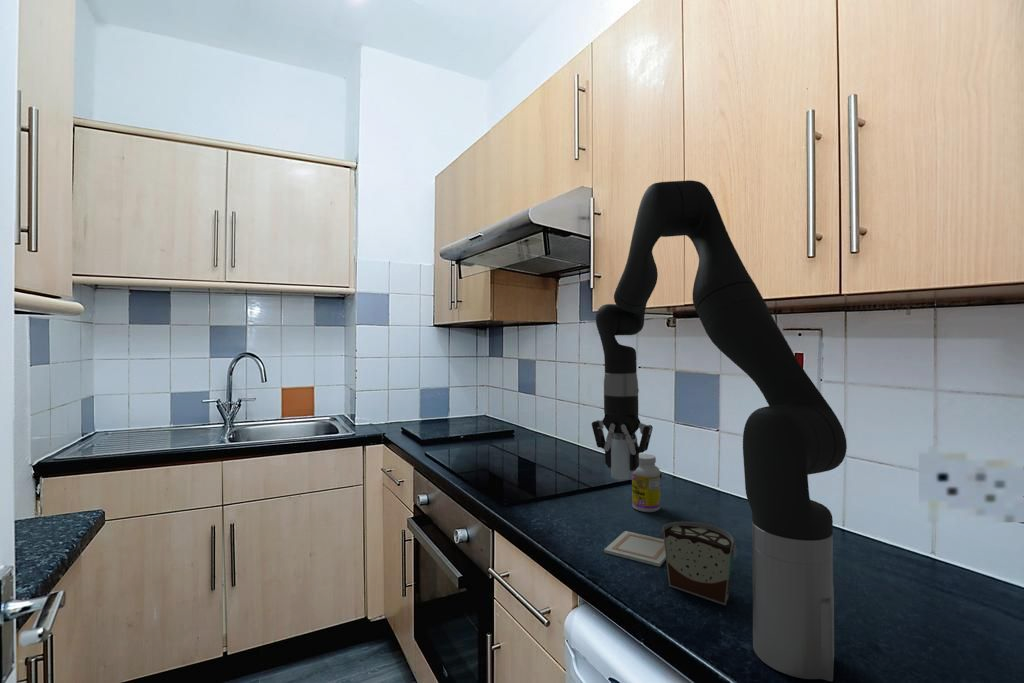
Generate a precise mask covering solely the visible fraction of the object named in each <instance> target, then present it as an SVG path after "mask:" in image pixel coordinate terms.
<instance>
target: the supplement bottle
mask: <svg viewBox="0 0 1024 683" xmlns="http://www.w3.org/2000/svg"><path fill="white" fill-rule="evenodd" d="M656 462H657V460H656V455H654V454H649V453H642V454H641V453H639V467H638V468H637V469H636V470H635V471H633V478H632V479H631V503H632V504H631V506H632V507H633V508H634V509H635V511H636V510H637V511H640V512H644V513H654V512H657V511H659V510H660V508H661V471H660V468H659V467H658V466H657V465H656Z"/></svg>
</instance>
